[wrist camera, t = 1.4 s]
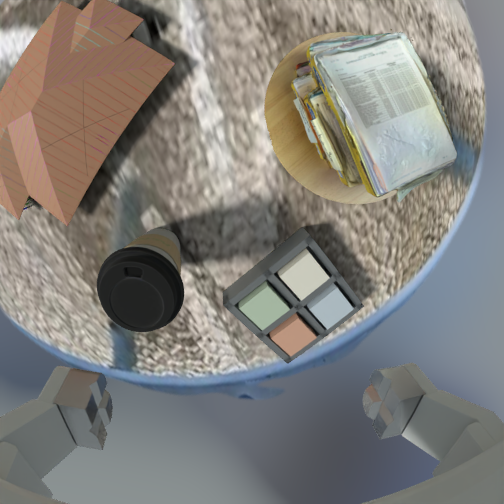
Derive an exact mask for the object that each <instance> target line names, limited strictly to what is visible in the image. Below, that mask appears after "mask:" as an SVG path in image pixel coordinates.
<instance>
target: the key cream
mask: <svg viewBox="0 0 504 504" xmlns="http://www.w3.org/2000/svg"><path fill="white" fill-rule="evenodd" d="M277 272H278V274H279V277H280V278H281V279H282V280H283V281H284V282H285V283H286V284H287V286H288V287H289V288H290V289H291V290H292V291H293V292H294V293H295V294H296V295H297V297H298V298H299V299H300V300H301V301H302V300H303V299H304V298H306V297H307V296H308V295H309V294H311V293H312V292H313V291H314V290H316V289H317V288H318V287H319V286H321V285H322V284H323V283H324V282H326V281H327V280H328V279H329V276H328V275H327V274H326V273H325V271H324V270H323V269H322V268H321V266H320V265H319V264H318V263H317V261H316V260H315V259H314V258H313V256H312V255H311V254H310V253H309V251H308V250H307V249H306V248H305V249H303V250H302V251H301V252H300V253H299V254H297V255H296V256H295V257H294V258H292V259H291V260H290V261H289V262H288V263H286V264H285V265H284V266H283V267H281V268H280V269H279V270H278V271H277Z"/></svg>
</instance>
